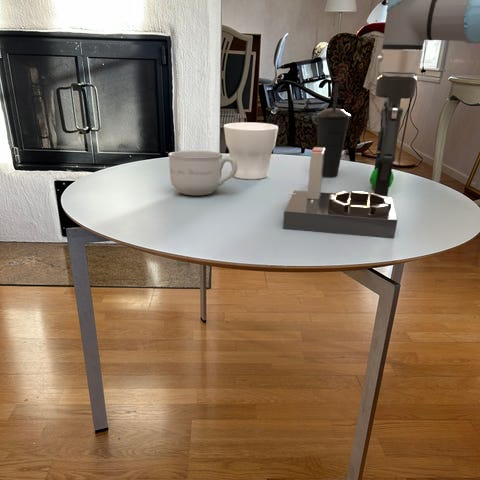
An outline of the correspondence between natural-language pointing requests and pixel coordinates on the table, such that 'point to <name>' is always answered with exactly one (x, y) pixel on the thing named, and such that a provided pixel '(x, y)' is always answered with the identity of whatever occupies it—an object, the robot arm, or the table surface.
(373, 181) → the polyhedron
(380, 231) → the cooktop
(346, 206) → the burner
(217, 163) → the teacup
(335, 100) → the drinking cup
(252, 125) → the cup
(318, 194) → the upright white panel
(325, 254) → the table surface
